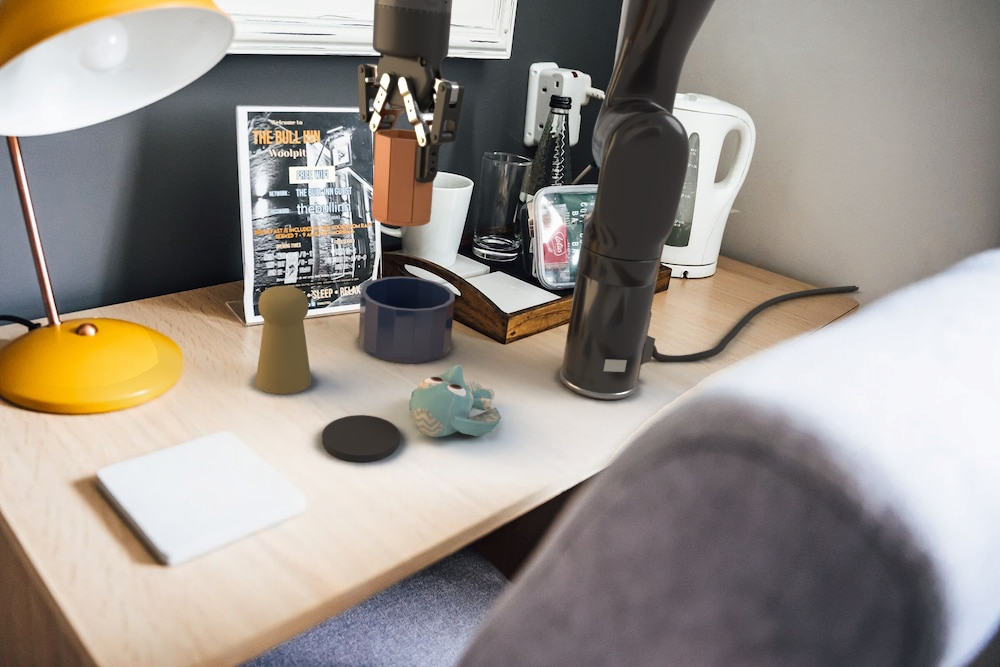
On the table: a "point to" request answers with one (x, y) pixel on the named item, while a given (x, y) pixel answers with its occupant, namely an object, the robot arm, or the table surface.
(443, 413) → the stuffed animal
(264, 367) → the olive brown pawn
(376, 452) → the disc
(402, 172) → the copper pot
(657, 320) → the table surface
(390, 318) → the big pot
